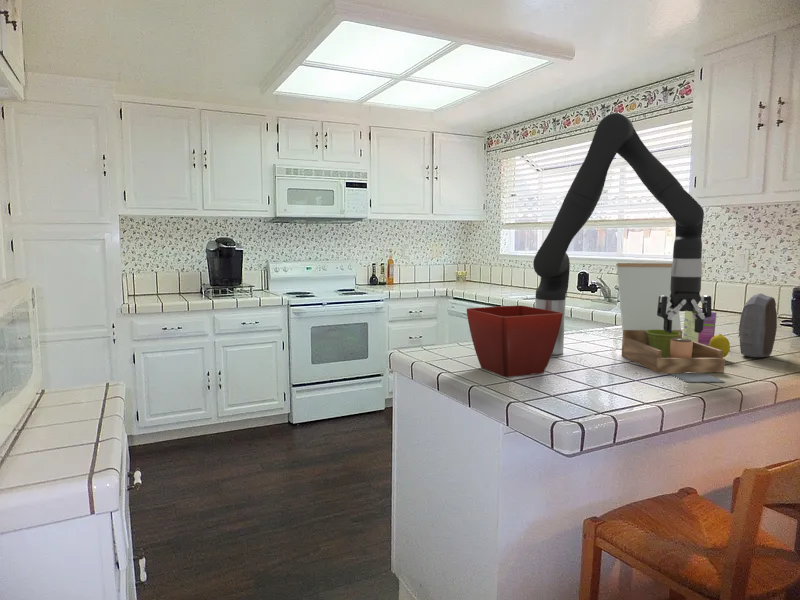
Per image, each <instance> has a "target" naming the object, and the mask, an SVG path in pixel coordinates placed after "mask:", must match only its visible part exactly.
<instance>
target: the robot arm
mask: <svg viewBox="0 0 800 600" xmlns="http://www.w3.org/2000/svg"><path fill="white" fill-rule="evenodd" d="M617 154H618V155H619V156H620V157H621V158H622V159H624V160H625V162H626V163H628V165H630V167H631V168H632V169H633V171H634V172H635V174H636V175H637V177H638V178H639V179H640V181H641V183H642V184H643V185H644V186H645V188H646V189H647V190H648V191H649V192H650V194H651V195H652V196H653V197H654V198H655V199H656V200H657V201H658V203H660V204H661V205H663V206H664V208H665V210H667V212H668V214H670V216H671V217H672V218H673V219H674V221H675V229H674V230H675V232H674V233H675V238H674V242H673V247H672V248H673V249H672V250H673V251H672V261H671V262H672V267H671V286H670V290H671V294H670V296H669V297H668V296H662V295H660V296H659V300H658V309H657V316H659V317H662V318H663V319H664V327H663V328H664V330H665V332H667V333H671V332H672V320H671V319H672V317H673V316H674V315H675V314H677V313H678V311H679V312H685V311H691V312H692V313H693V314H694V315H695V317H696V318H697V319H695V329H694V331H695V332H697V333H701V331H702V330H703V322H704V319H705V318H707V317H711V312H712V296H710V295H706V294H703V295H701V294H700V293H701V290H702V274H703V273H702V271H703V264H702V259H703V258H702V254H703V242H702V241H703V240H702V235H703V228H704V227H703V226H704V218H705V216H704V215H705V211H704V209H703V207H702V206H701V204H699V202H698V201H697V200H696V199H695V198H694V197H693V196H692V195H691V194H690V193H689V192H687V191H686V189H684V187H683V186H682V184H681V183H680V181H678V179H677V178H676V177H675V176H674V174H672V173H671V172H670V170H669V169H668V168H667V167H666V166H665V165H664V164H663V163H662V162H661V161H660V160H659V159H658V158H657V157H655V155H654V154H653V153H652V152H651V151H650V150H649V149H648V148H647V146H646V145H645V144H644V142H643V141H642V139H641V138H640V136H639V134H638V133H637V131H636V129H635V128H634V124H633V122H631V120H630V119H629V118H628V117H627V116H625V115H624V114H623V113H619V112H613V113H610V114H607V115H606V116H604V117H603V118H602V119H601V120H600V121H599V122H598V125H597V126H596V130H595V131H594V135H593V137H592V140H591V143H590V145H589V149H588V152H587V153H586V156H585V157H584V158H585V159H584V161H583V162H582V164H581V166H580V168H579V169H578V172H576V173H577V174H576V175H575V177H574V179H573V181H572V183H571V185H570V187H569V188H568V191H567V192H566V195H565V197H564V199H563V202H562V203H561V205H560V208H559V210H558V212H557V215H556V217H555V219H554V220H553V224H552V226H551V229H550V230H549V232H548V234H547V236H546V238H545V239H544V240H543V242H542V243H541V246H540V247H539V249H538V250H537V252H536V254H535V256H534V259H533V263H532V265H533V270H534V272H535V273H536V275H538V277H540V282H539V285H538V287H537V288H536V290H535V302H534V303H535V304H534V305H535V306H534V308H539V309H545V310H550V311H556V312H561V313H563V314H562V320H561V325H560V329H559V333H558V337H557V340H556V343H555V346H554V349H553V352H552V355H555V356H556V355H557V356H559V355H563V353H564V343H565V342H564V340H565V317H566V301H567V299H566V297H567V292H568V290H569V289H568V288H569V283H570V271H571V270H570V269H571V266H570V258H569V255H568V253H567V251H568V249H569V247H570V244H571V242H572V241H573V239H574V238H575V236H576V235H577V234H578V233H579V232H580V231H581V229H582V228H583V227H584V226H585V225H586V223H587V222H588V220H589V219H590V218H591V216H592V214H593V213H594V210H595V208H596V207H597V205H598V203H599V200H600V198H601V195H602V194H603V190H604V186H605V184H606V178H607V175H608V172H609V169H610V167H611V164H612V163H613V160H614V158H615V156H616V155H617ZM669 301H670V302H671V305H670V306H669V308H668V309H667V311H666V308H667V304H668V302H669ZM700 302H701V307H700V305H699V303H700ZM701 309H702V310H701ZM552 355H551V356H552Z"/></svg>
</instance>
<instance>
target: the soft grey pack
mask: <svg viewBox="0 0 800 600" xmlns="http://www.w3.org/2000/svg"><path fill="white" fill-rule="evenodd" d="M776 302H777V301H776V299H775V298H774V297H772V296H769V295H767V294H766V295H765V294H764V293H757V294H754V295H753V296H751V297H750V298H749V299H748V300H747V301H746V302H745V303H744V306H743V308H742V311H741V314H740V319H739V327H738V335H737V337H738V338H739V346H740V347H739V348H740V354H742V355H743V356H745V357H750V358H764V357H765V358H766V357H769V356H771V355H772V353H773V349H774V346H775V345H774V344H775V341H776V335H777V331H778V330H777V329H778V328H777V327H778V314H777V303H776Z"/></svg>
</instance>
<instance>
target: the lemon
mask: <svg viewBox="0 0 800 600" xmlns="http://www.w3.org/2000/svg"><path fill="white" fill-rule="evenodd" d="M730 344H731V343H730V340H729V339H728V338H727V337H726V335H725V336H724V335H722V333H719V334H717V335H714V337H713V338H712V339H711V340H710V343H709V346H710V347H713V348H716V349H719V350H722V351H723V356H722V358H726V356H728V354H729V353H730V351H731V345H730Z"/></svg>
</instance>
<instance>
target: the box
mask: <svg viewBox="0 0 800 600" xmlns="http://www.w3.org/2000/svg"><path fill="white" fill-rule="evenodd" d="M700 309H701V310H702V308H700ZM695 319H697V318H696V317H695V315H694V314H693V313H692V312H691V311H684V318H683V330H682V331H683V333H682V338H686V339H690V340H692V341H695V342H698V343H701V344H704V345H707V346H709V343H710V340H711V339H712V338H713V337H714V336H715V334H716V333H715V330H716V322H717V312H715V311H711V317H707V318H705V319H704V322H703V330H702V331H701V333H697V332H695V331H694V329H695Z"/></svg>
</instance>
